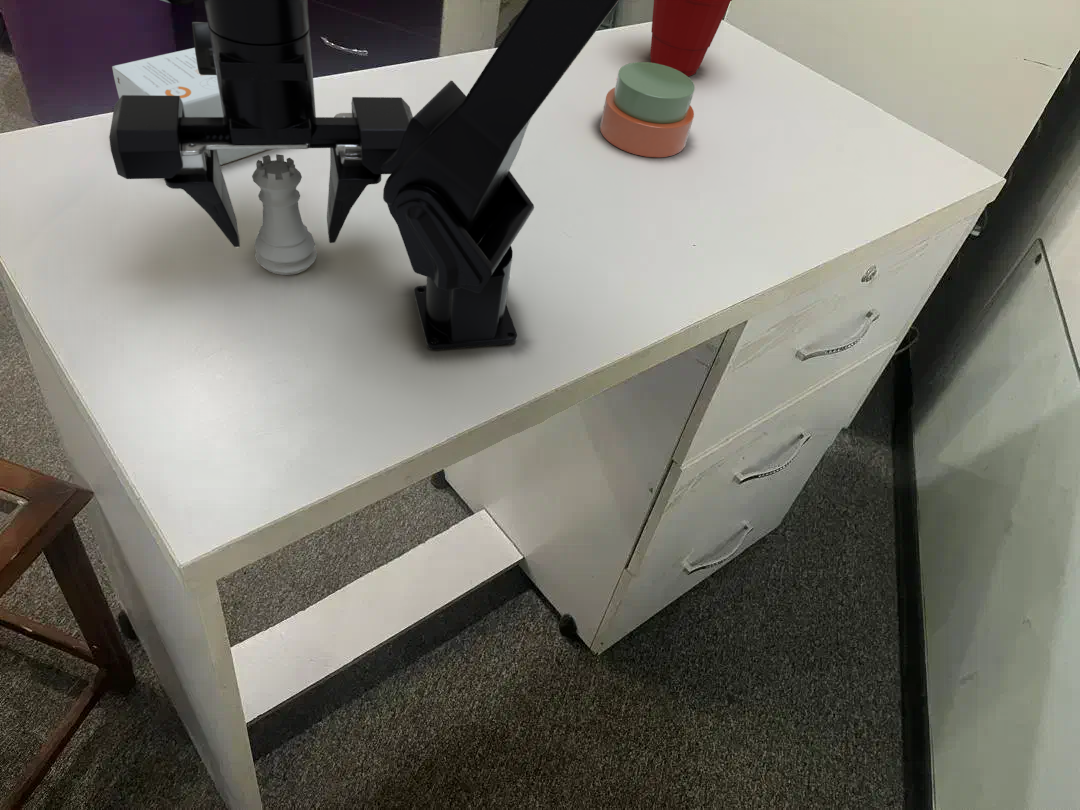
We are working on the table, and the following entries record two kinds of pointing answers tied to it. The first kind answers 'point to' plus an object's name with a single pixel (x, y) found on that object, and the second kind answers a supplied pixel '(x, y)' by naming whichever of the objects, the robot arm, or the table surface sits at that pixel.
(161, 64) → the small box
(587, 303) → the table surface
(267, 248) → the rook chess piece
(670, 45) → the plastic cup
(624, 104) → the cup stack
